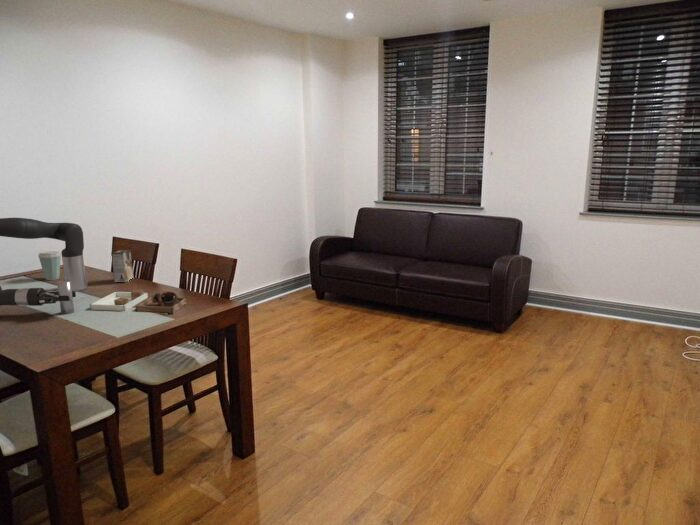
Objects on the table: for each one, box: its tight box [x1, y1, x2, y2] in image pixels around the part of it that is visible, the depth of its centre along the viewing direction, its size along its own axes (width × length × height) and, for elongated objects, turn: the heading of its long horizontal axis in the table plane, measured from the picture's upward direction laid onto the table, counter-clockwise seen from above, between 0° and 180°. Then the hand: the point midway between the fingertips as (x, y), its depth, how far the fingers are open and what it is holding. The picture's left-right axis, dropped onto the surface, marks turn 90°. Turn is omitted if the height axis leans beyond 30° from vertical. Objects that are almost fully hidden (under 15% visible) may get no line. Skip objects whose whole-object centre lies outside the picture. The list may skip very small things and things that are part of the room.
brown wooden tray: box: [135, 296, 188, 314], centre depth 224 cm, size 15×17×3 cm
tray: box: [89, 291, 149, 312], centre depth 228 cm, size 20×16×3 cm
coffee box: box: [111, 249, 135, 283], centre depth 268 cm, size 9×6×16 cm
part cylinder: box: [56, 279, 75, 315], centre depth 214 cm, size 5×5×14 cm
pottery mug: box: [153, 290, 180, 307], centre depth 225 cm, size 12×10×8 cm
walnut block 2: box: [130, 289, 144, 300], centre depth 234 cm, size 4×4×4 cm
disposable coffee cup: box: [38, 250, 62, 281], centre depth 271 cm, size 11×11×15 cm
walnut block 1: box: [114, 298, 129, 305], centre depth 221 cm, size 4×4×4 cm
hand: (72, 296), depth 214 cm, fingers closed on part cylinder, 5 cm apart
